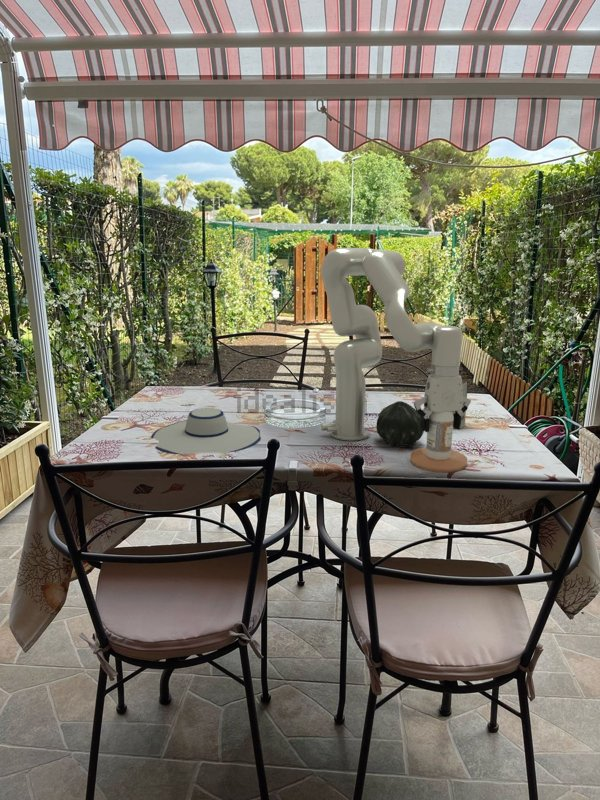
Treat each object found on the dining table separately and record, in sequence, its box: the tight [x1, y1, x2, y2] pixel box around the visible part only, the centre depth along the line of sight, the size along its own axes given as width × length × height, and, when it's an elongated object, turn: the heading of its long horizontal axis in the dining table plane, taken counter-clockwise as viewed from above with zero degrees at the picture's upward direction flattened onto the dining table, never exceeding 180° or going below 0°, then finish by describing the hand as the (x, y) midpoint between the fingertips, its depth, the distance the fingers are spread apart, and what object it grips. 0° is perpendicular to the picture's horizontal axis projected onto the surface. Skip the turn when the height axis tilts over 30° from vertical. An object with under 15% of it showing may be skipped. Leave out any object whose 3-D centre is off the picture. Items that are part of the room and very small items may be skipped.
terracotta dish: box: [409, 447, 468, 473], centre depth 160 cm, size 16×16×2 cm
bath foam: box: [425, 412, 454, 460], centre depth 158 cm, size 7×7×20 cm
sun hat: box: [150, 407, 262, 455], centre depth 181 cm, size 36×36×9 cm
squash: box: [375, 400, 425, 448], centre depth 175 cm, size 14×15×15 cm
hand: (440, 429), depth 158 cm, fingers open, 9 cm apart
